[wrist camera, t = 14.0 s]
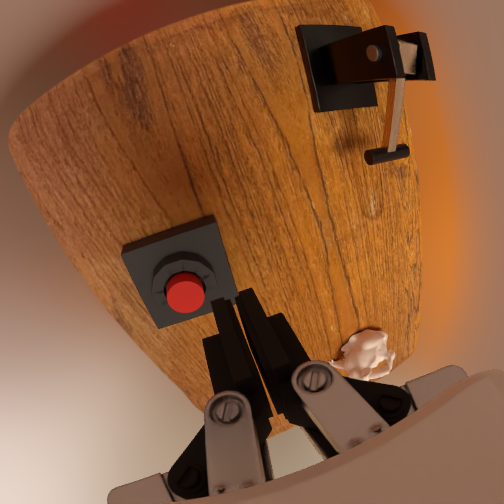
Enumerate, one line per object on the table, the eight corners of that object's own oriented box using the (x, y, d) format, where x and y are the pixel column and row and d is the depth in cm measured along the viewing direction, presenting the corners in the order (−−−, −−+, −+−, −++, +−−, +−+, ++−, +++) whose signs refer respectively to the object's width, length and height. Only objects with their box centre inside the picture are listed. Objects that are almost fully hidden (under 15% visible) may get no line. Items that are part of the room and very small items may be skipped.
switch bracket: (371, 105, 28) (449, 111, 18) (314, 112, 27) (388, 114, 17) (355, 29, 23) (428, 8, 13) (294, 27, 22) (359, -9, 12)
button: (174, 307, 28) (175, 317, 27) (161, 278, 27) (161, 288, 25) (207, 296, 29) (209, 306, 27) (196, 267, 27) (197, 276, 26)
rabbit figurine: (324, 369, 46) (349, 410, 37) (319, 343, 42) (348, 387, 34) (380, 338, 47) (410, 373, 39) (381, 310, 43) (416, 346, 35)
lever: (396, 150, 26) (411, 162, 24) (360, 158, 25) (375, 170, 23) (408, 40, 17) (428, 46, 15) (367, 35, 16) (387, 40, 14)
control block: (158, 317, 32) (158, 339, 29) (123, 245, 28) (117, 262, 24) (236, 292, 34) (244, 311, 30) (213, 214, 29) (219, 228, 26)
